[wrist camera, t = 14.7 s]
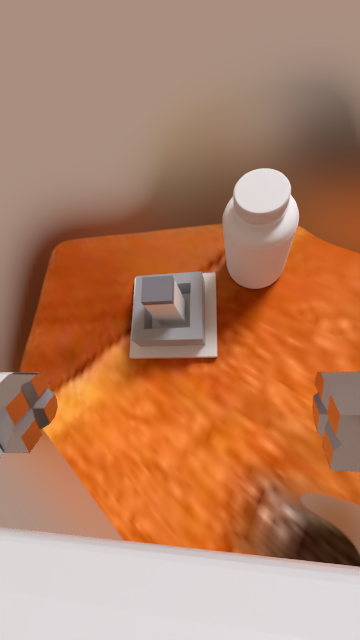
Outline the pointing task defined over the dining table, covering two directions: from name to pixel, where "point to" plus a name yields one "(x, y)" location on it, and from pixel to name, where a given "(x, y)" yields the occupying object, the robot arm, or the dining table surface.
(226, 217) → the pill bottle
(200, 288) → the socket
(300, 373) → the dining table surface
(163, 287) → the plug
